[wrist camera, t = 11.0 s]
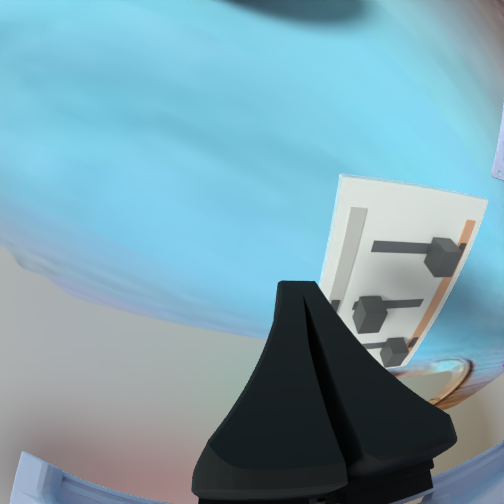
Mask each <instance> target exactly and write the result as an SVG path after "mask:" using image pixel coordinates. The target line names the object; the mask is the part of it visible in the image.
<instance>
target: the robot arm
mask: <svg viewBox="0 0 504 504" xmlns="http://www.w3.org/2000/svg"><path fill="white" fill-rule="evenodd" d="M498 171H499V175H497V172H498ZM491 175H492V176H493V177H494V178H497V179H500V180H503V181H504V104H503V113H502V120H501V126H500V132H499V138H498V143H497V148H496V153H495V158H494V162H493V166H492V170H491ZM456 442H457V436H456V432H455V429H454V426H453V423H452V420H451V417H450V415H449V414H447V413H445V412H444V411H442V410H440V409H439V408H437V407H435V406H434V405H432V404H431V403H429V402H427V401H425V400H424V399H423V398H421V397H420V396H419V395H417V394H416V393H414V392H413V391H412V390H410V389H409V388H408V387H406V386H405V385H404V384H402V383H401V382H400V381H399V380H398V379H397V378H396V377H394V376H393V375H392V374H391V373H390V372H389V371H387V370H386V369H385V368H384V367H383V366H382V365H381V364H380V363H379V362H378V361H377V360H376V359H375V358H374V357H373V356H372V355H371V354H370V353H369V352H368V351H367V350H366V349H365V347H364V346H363V345H362V344H361V343H360V342H359V341H358V339H357V338H356V337H355V336H354V335H353V333H352V332H351V331H350V330H349V328H348V327H347V326H346V324H345V323H344V322H343V320H342V319H341V318H340V317H339V315H338V314H337V312H336V311H335V310H334V308H333V307H332V305H331V304H330V303H329V301H328V300H327V298H326V297H325V295H324V294H323V292H322V291H321V289H320V288H319V286H318V285H317V283H316V282H315V281H280V282H279V283H278V286H277V294H276V303H275V311H274V321H273V324H272V327H271V330H270V333H269V336H268V339H267V342H266V344H265V347H264V350H263V352H262V354H261V357H260V359H259V361H258V363H257V365H256V367H255V369H254V371H253V373H252V375H251V377H250V379H249V381H248V383H247V385H246V386H245V388H244V390H243V391H242V393H241V395H240V396H239V398H238V400H237V401H236V403H235V404H234V406H233V407H232V409H231V410H230V412H229V413H228V415H227V416H226V418H225V419H224V420H223V422H222V423H221V425H220V426H219V427H218V428H217V430H216V431H215V432H214V434H213V435H212V436H211V438H210V439H209V440H208V442H207V444H206V446H205V448H204V450H203V452H202V454H201V456H200V458H199V460H198V462H197V464H196V466H195V469H194V472H193V477H192V492H193V493H194V494H195V495H196V496H198V497H199V502H198V504H403V503H406V502H409V501H412V500H415V499H417V498H420V497H422V496H424V497H423V499H422V501H421V502H420V503H418V504H504V441H502V442H500V443H499V444H497V445H496V446H494V447H492V448H491V449H489V450H487V451H486V452H484V453H482V454H480V455H478V456H476V457H474V458H473V459H470V460H468V461H466V462H464V463H462V464H460V465H458V466H456V467H454V468H452V469H450V470H447V471H445V472H443V473H440V474H438V475H436V476H433V477H431V473H430V469H432V468H434V463H433V458H434V457H436V456H438V455H439V454H441V453H443V452H444V451H446V450H448V449H449V448H450V447H452V446H453V445H454V444H455V443H456ZM10 504H170V503H165V502H160V501H155V500H150V499H145V498H141V497H137V496H133V495H129V494H125V493H122V492H118V491H115V490H112V489H109V488H105V487H102V486H99V485H96V484H94V483H90V482H88V481H85V480H82V479H80V478H77V477H75V476H73V475H70V474H68V473H65V472H63V471H62V470H61V469H59V468H57V467H55V466H53V465H51V464H49V463H47V462H45V461H43V460H41V459H39V458H37V457H35V456H33V455H31V454H29V453H27V452H26V451H22V454H21V457H20V461H19V465H18V469H17V472H16V477H15V481H14V485H13V490H12V494H11V500H10Z"/></svg>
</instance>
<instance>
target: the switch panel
mask: <svg viewBox="0 0 504 504" xmlns="http://www.w3.org/2000/svg"><path fill="white" fill-rule="evenodd" d="M487 204H488V200H487V199H486V198H484V197H481V196H477V195H473V194H468V193H463V192H459V191H454V190H449V189H444V188H439V187H433V186H428V185H422V184H416V183H410V182H404V181H397V180H390V179H383V178H375V177H368V176H359V175H350V174H341V173H340V176H339V182H338V188H337V195H336V201H335V206H334V212H333V217H332V223H331V228H330V233H329V239H328V244H327V249H326V253H325V258H324V263H323V268H322V272H321V277H320V281H319V285H318V286H319V288H320V289H321V291H322V292H323V294H324V295H325V297H326V298H327V300H328V301H329V303H330V304H331V305H332V307H333V308H334V310H335V311H336V312H337V314H338V315H339V317H340V318H341V319H342V320H343V322H344V323H345V324H346V326H347V327H348V328H349V330H350V331H351V332H352V333H353V335H354V336H355V337H356V338H357V339H358V341H359V342H360V343H361V344H362V345H363V346H364V347H365V349H366V350H367V351H368V352H369V353H370V354H371V355H372V356H373V357H374V358H375V359H376V360H377V361H378V362H379V363H380V364H381V365H382V366H383V367H384V365H383V362H382V359H381V356H380V351H381V350H382V348H383V346H384V344H385V342H386V341H387V339H394V338H404V341H405V343H406V345H407V348H408V350H409V353H408V355H407V356H406V358H405V359H404V361H403V362H402V364H401V365H400V366H395V367H401V366H406V365H407V363H408V362H409V360H410V359H411V357H412V356H413V354H414V353H415V351H416V350H417V348H418V347H419V345H420V344H421V342H422V341H423V339H424V338H425V336H426V334H427V333H428V331H429V330H430V328H431V326H432V325H433V323H434V321H435V320H436V318H437V316H438V314H439V313H440V311H441V309H442V307H443V306H444V304H445V302H446V300H447V298H448V296H449V294H450V292H451V291H452V289H453V287H454V285H455V283H456V281H457V279H458V277H459V274H460V272H461V270H462V268H463V266H464V264H465V261H466V259H467V257H468V255H469V252H470V250H471V248H472V245H473V243H474V240H475V238H476V235H477V233H478V230H479V227H480V225H481V222H482V219H483V216H484V213H485V211H486V208H487ZM433 237H437V238H450V239H451V240H452V241H453V242H454V243H455V244H456V245H457V246H458V247H459V248H460V250H461V251H462V252H463V253H462V256H461V258H460V260H459V262H458V265H457V267H456V269H455V271H454V273H453V275H452V277H434V276H433V275H432V273H431V272H430V271H429V269H428V268H427V266H426V265H425V264H424V260H425V258H426V255H427V252H428V250H429V247H430V244H431V242H432V239H433ZM374 296H381V298H382V301H383V303H384V305H385V307H386V309H387V312H388V314H387V317H386V319H385V321H384V323H383V325H382V327H381V329H380V331H379V333H367V334H358V333H357V330H356V327H355V324H354V321H353V318H352V316H353V314H354V311H355V308H356V306H357V303H358V300H359V297H374ZM388 368H394V367H388ZM385 369H387V368H385Z"/></svg>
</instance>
